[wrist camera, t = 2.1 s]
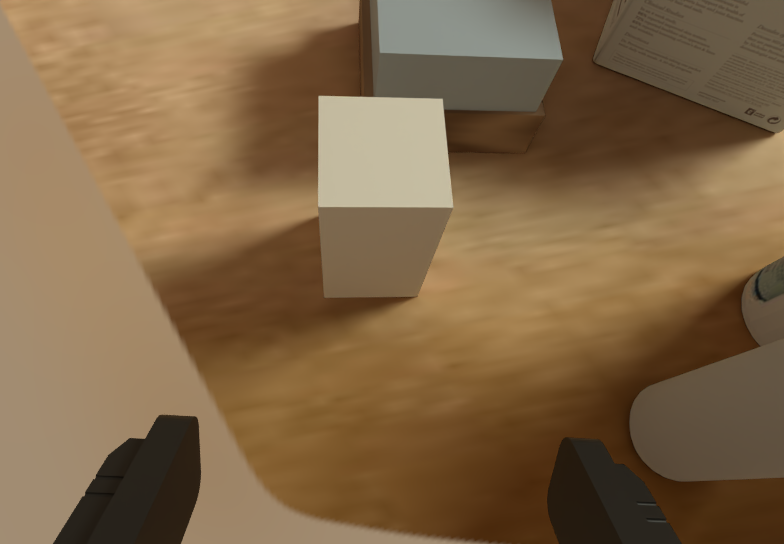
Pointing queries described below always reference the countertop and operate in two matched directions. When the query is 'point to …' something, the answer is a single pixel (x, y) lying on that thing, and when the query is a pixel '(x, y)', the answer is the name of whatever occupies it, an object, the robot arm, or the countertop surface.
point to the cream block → (380, 193)
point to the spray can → (765, 303)
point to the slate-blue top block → (465, 52)
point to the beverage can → (715, 420)
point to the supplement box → (703, 52)
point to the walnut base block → (461, 111)
